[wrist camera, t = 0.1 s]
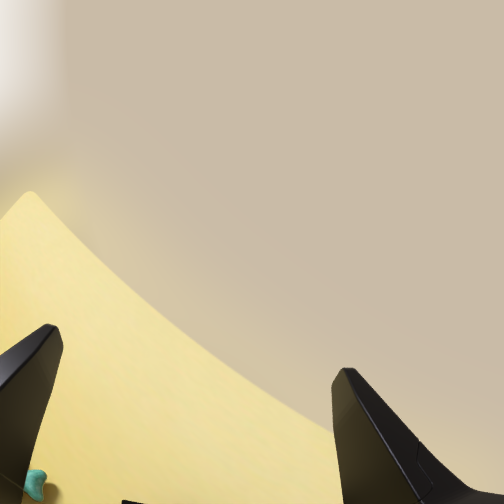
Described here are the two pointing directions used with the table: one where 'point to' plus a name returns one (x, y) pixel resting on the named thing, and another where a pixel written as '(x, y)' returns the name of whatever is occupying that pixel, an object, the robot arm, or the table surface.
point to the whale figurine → (35, 484)
